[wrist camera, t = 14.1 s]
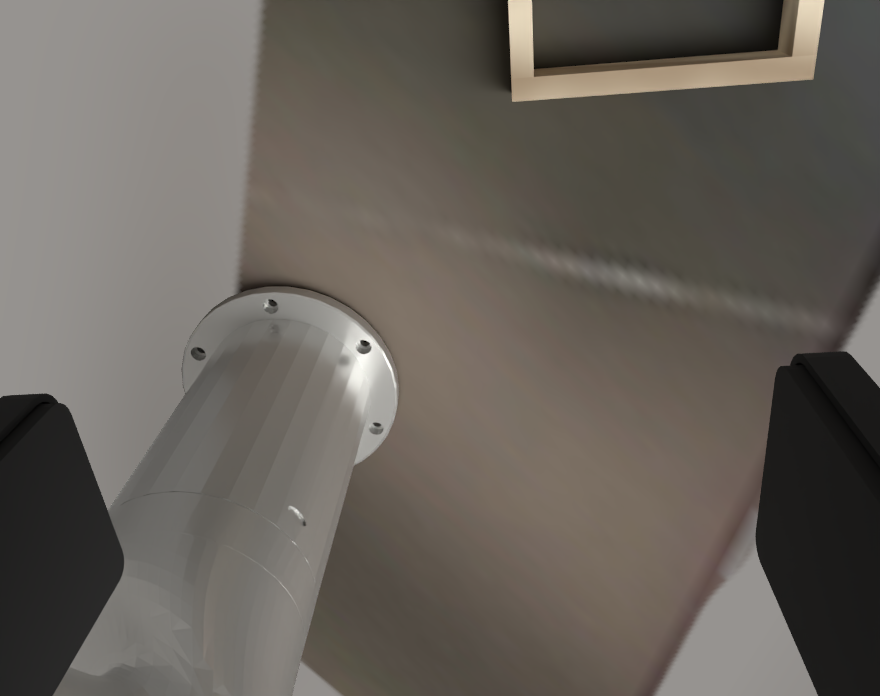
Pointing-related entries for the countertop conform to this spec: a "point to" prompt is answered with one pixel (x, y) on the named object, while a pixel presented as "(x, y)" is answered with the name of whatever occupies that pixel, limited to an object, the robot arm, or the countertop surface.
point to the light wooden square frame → (666, 62)
